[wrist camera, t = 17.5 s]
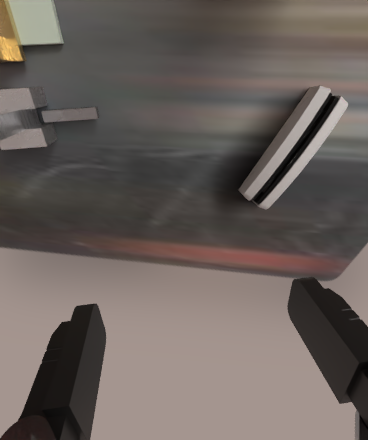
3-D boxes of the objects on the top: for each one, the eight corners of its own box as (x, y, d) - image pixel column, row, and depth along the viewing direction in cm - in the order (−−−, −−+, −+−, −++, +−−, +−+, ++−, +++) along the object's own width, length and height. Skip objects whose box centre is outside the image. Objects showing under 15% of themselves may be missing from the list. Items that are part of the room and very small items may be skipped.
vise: (-3, 89, 30) (-85, 95, 19) (94, 83, 31) (66, 86, 20) (17, 142, 33) (-45, 172, 22) (105, 135, 33) (85, 161, 23)
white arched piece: (261, 204, 41) (270, 226, 32) (237, 188, 41) (237, 205, 32) (337, 106, 35) (374, 97, 26) (307, 87, 35) (334, 71, 26)
